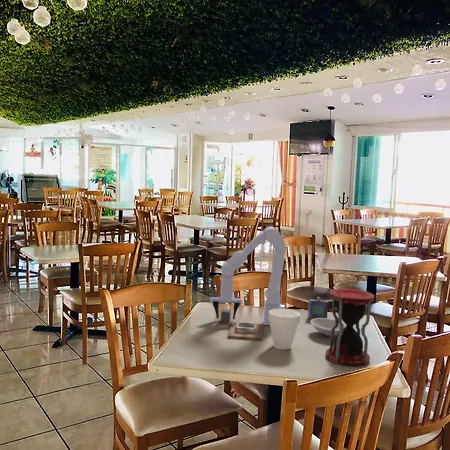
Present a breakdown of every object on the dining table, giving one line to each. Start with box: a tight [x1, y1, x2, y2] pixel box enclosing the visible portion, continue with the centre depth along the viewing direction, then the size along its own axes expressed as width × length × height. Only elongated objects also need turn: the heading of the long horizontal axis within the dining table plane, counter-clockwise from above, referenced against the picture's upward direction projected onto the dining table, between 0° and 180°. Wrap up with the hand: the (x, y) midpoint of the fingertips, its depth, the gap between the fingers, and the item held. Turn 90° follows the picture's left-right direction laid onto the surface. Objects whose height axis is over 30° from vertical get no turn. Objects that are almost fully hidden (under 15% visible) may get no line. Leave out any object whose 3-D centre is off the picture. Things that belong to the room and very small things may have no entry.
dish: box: [309, 317, 346, 337], centre depth 206 cm, size 18×14×5 cm
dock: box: [227, 321, 264, 341], centre depth 206 cm, size 14×19×3 cm
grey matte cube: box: [220, 308, 232, 324], centre depth 220 cm, size 4×4×5 cm
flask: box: [307, 296, 329, 320], centre depth 230 cm, size 9×3×11 cm, turn 76°
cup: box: [268, 308, 301, 351], centre depth 189 cm, size 12×12×14 cm
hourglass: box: [325, 288, 375, 367], centre depth 179 cm, size 16×16×25 cm
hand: (225, 318), depth 220 cm, fingers open, 7 cm apart
